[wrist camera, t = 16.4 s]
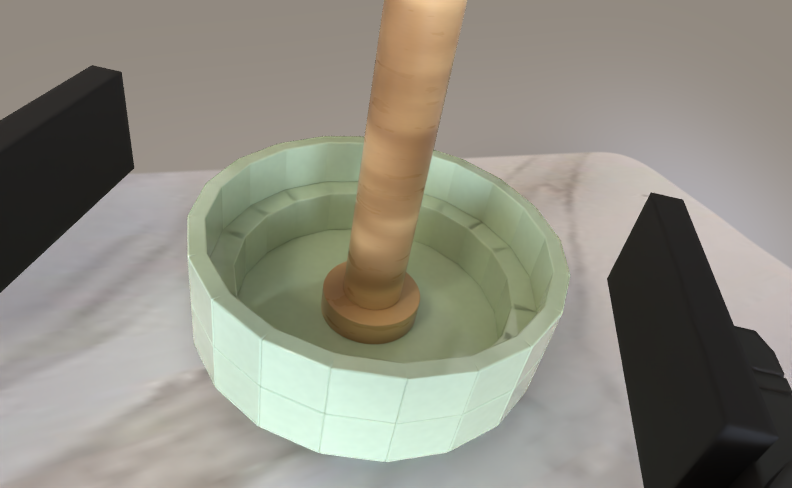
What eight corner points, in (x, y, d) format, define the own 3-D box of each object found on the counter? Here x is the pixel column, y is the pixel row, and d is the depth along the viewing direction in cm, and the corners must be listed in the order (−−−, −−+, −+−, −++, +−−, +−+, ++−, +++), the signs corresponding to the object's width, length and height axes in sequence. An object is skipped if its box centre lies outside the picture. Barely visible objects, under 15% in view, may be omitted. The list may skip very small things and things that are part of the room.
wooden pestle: (434, 310, 28) (586, -234, 16) (374, 361, 25) (503, -263, 13) (364, 264, 30) (450, -256, 17) (300, 306, 27) (350, -286, 14)
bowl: (581, 327, 30) (624, 242, 26) (391, 563, 19) (422, 472, 16) (354, 191, 36) (366, 108, 33) (119, 312, 26) (101, 210, 22)
